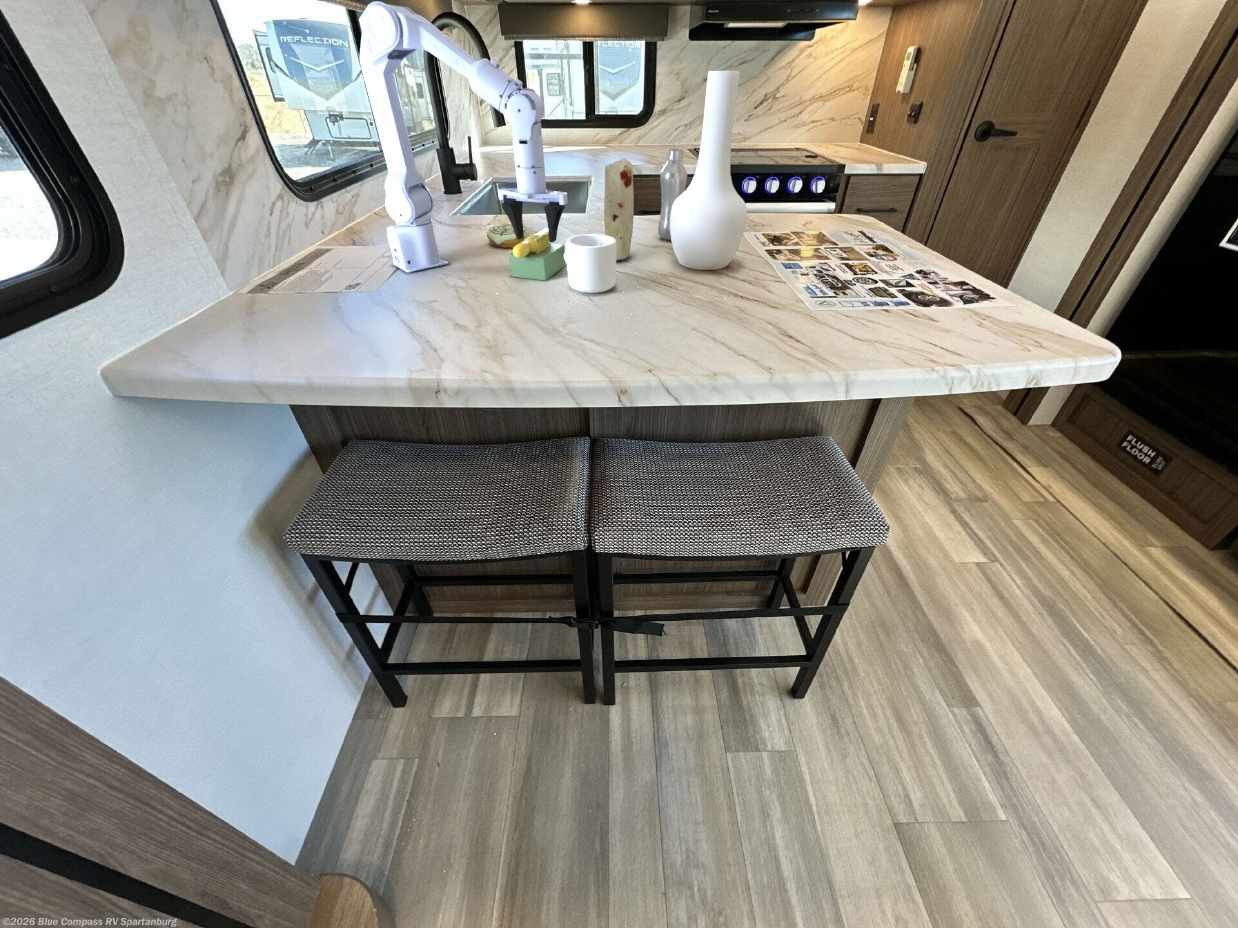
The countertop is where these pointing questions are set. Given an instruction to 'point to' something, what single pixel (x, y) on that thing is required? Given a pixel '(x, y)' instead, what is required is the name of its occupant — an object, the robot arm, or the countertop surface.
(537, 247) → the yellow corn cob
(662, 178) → the plastic bottle
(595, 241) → the mug
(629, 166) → the food model
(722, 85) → the vase
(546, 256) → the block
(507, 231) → the decorated donut
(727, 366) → the countertop surface
